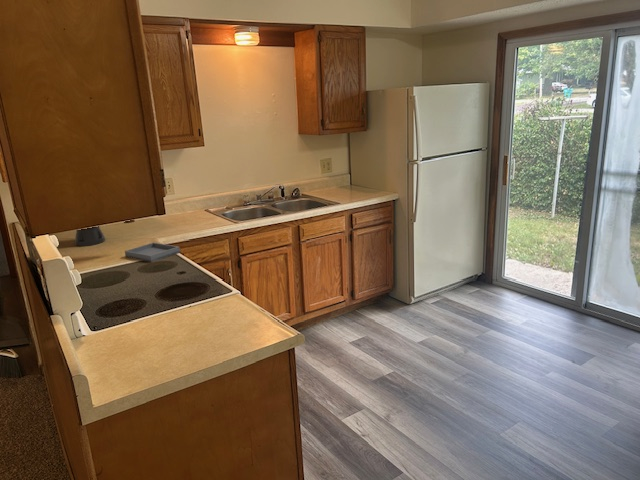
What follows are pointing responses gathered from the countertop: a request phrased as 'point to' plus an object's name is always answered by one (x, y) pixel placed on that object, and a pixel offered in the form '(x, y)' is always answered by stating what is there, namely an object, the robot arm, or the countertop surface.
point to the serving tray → (152, 252)
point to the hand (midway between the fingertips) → (128, 215)
